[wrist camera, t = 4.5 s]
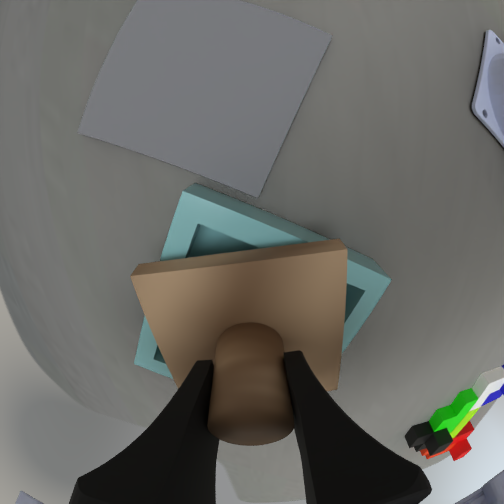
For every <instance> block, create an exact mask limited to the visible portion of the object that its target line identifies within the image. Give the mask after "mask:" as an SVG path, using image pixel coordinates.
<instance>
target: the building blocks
mask: <svg viewBox="0 0 504 504" xmlns="http://www.w3.org/2000/svg"><path fill="white" fill-rule="evenodd" d="M502 394H503V395H504V365H503V366H500V367H497V368H495V369H492V370H489V371H486V372H483V373H481V374H480V376H479V378H478V379H477V381H476V382H475V384H474V385H473V387H472V388H470V389H467V390H464V391H461V392H459V394H458V395H457V397H456V398H455V400H454V401H453V402H452V404H451V405H449V406H446V407H443V408H440V409H437V410H436V412H435V413H434V414H433V416H432V417H431V418H430V420H429V421H428V422H424V423H421V424H417V425H414V426H412V427H411V428H410V430H409V431H408V432H407V434H406V435H405V438H406V441H407V443H408V446H409V448H411V447H414V448H415V450H416V452H417V451H420V452H421V454H422V456H424V455H425V456H426V458H427V459H429V458H432V457H434V456H437V455H440V454H442V453H445V452H447V451H449V452H450V454H451V456H452V458H453V460H454V461H455V460H457V459H460V458H462V457H464V456H465V455H466V454H467V453H468V452H469V451H470V450H471V446H470V444H469V443H468V440H467V437H468V436H469V435H470V434H471V433H472V432H473V430H474V428H473V426H472V424H471V423H470V421H469V420H470V419H471V418H472V417H473V416H474V414H475V413H476V412H477V411H478V409H479V408H480V407H481V406H483V405H485V404H487V403H489V402H491V401H493V400H495V399H497V398H499V397H500V396H501V395H502Z"/></svg>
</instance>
